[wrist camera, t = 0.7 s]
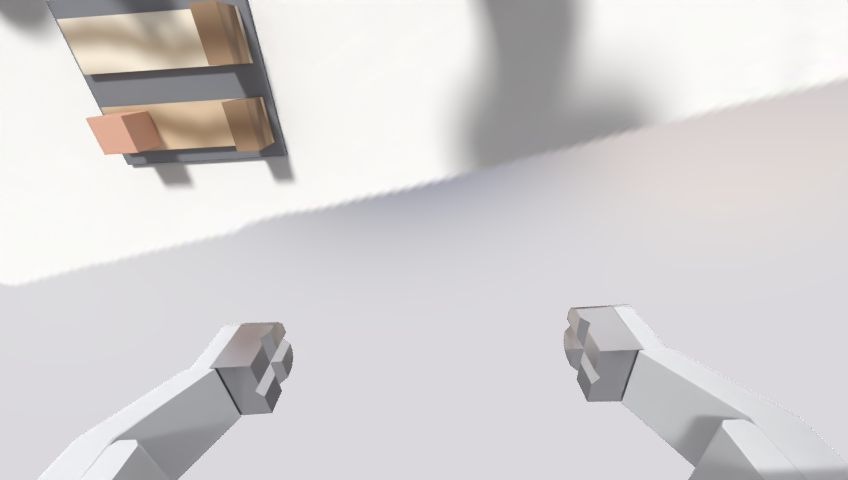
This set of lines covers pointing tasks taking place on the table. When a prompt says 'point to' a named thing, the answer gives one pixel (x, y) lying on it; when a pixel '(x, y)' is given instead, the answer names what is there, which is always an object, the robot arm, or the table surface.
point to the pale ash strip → (159, 39)
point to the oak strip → (208, 123)
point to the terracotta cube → (124, 132)
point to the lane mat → (178, 79)
